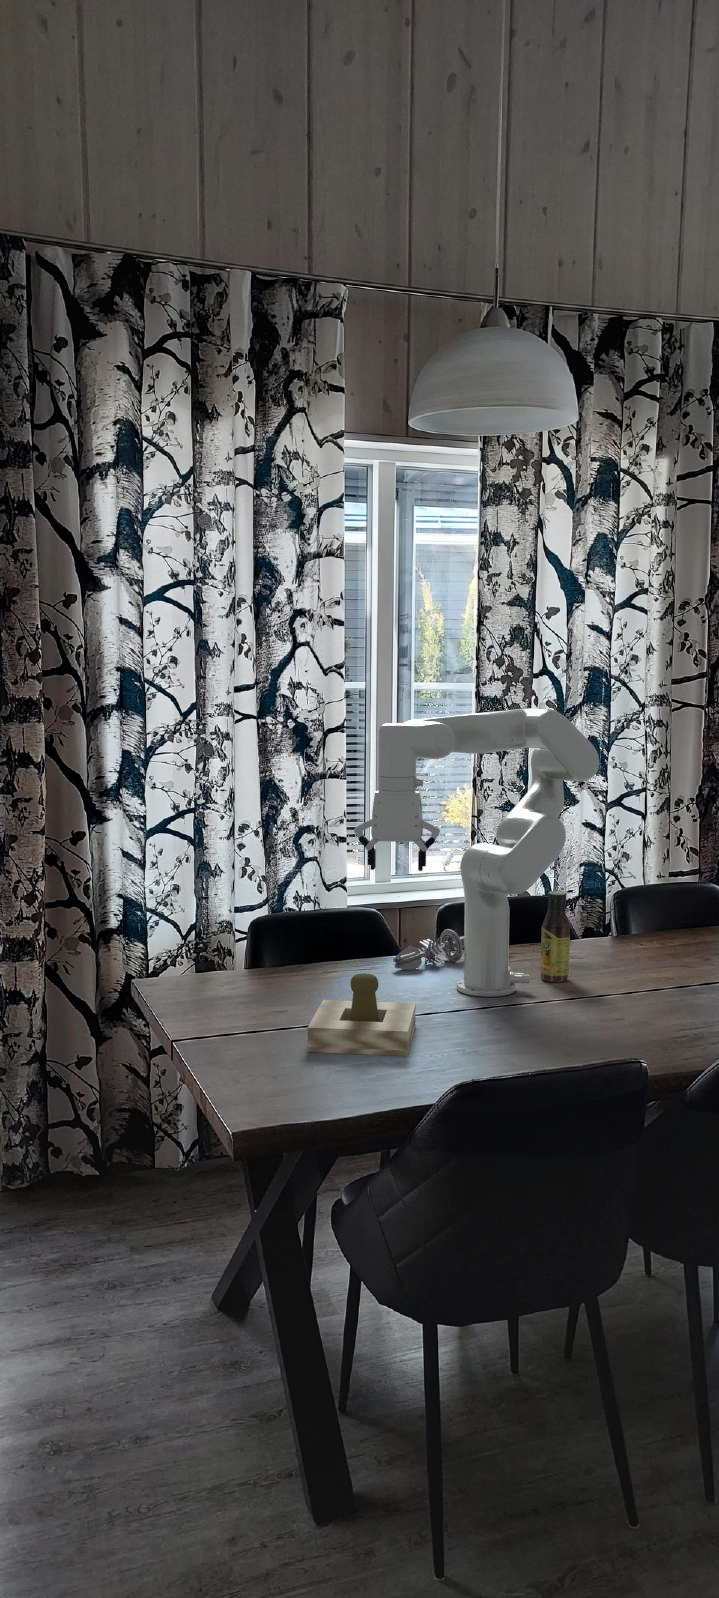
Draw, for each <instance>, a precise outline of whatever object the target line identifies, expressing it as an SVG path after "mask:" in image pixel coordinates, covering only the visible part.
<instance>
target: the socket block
mask: <svg viewBox="0 0 719 1598" xmlns="http://www.w3.org/2000/svg"><path fill="white" fill-rule="evenodd" d="M376 1002H377V1009H378V1017H379V1022H366V1021H350V1015H351V1007H352V1000H338V999H337V1000H334V999H323V1000H322V1002H321V1003H320V1005H319V1006H318V1008H317V1010H316V1011H315V1014H314V1015H313V1017H312V1019H311V1021H310V1023H309V1024H308V1026H307V1052H308V1053H322V1054H323V1053H325V1054H343V1055H344V1054H349V1055H351V1054H352V1055H366V1056H367V1055H369V1056H370V1055H372V1056H373V1055H375V1056H391V1057H392V1056H393V1057H394V1056H395V1057H396V1056H397V1057H408V1056H409V1053H410V1049H411V1045H412V1040H413V1037H414V1034H415V1029H416V1023H417V1021H416V1019H417V1018H416V1017H417V1016H416V1012H417V1011H416V1010H417V1009H416V1008H417V1007H416V1006H417V1004H416V1002H396V1001H395V1002H389V1001H387V1002H386V1001H376Z"/></svg>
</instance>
